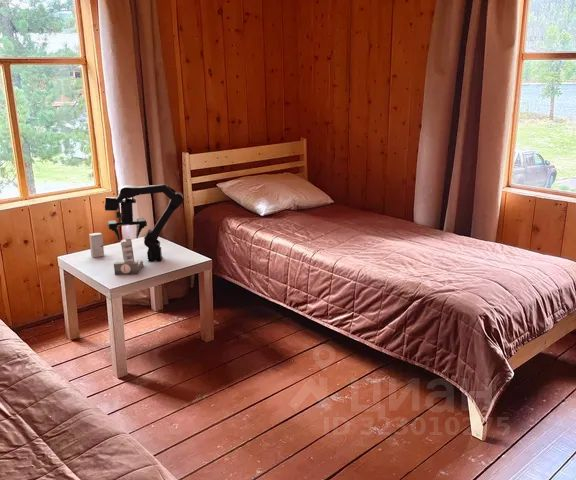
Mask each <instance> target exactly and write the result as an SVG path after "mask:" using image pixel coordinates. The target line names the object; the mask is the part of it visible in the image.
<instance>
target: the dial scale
mask: <svg viewBox="0 0 576 480" xmlns="http://www.w3.org/2000/svg"><path fill="white" fill-rule="evenodd" d="M143 267H144V261H142V259H134V262H124V259H122V260H120V261H116V262H114V263H113V271H114V275H115V276H118V275H119V276H120V275H121V276H122V275H125V276H126V275H138V274H139V273H140V272H141V270H142V269H143Z"/></svg>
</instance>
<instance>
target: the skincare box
mask: <svg viewBox="0 0 576 480" xmlns="http://www.w3.org/2000/svg"><path fill="white" fill-rule="evenodd" d="M88 236H89V245H90V248H89V249H90V256H91V257H92V258H98V257H103V256H105V250H104V249H105V248H104V239H103V234H102V233H101V232H94V233H88Z"/></svg>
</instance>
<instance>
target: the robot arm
mask: <svg viewBox="0 0 576 480" xmlns="http://www.w3.org/2000/svg"><path fill="white" fill-rule="evenodd" d="M157 193H158V194H159V193H163V194H164V195H165V196H166V197H167V198H168V199H169V202H168V205H167V207H166V208H165V210H164V211H163V213H162V214H161V216H160V217H159V219H158V220H157V222H156V224H155V225H154V227H152V229H150V228H148V229H147V232H146V233H145V234H144V237H143V239H144V240H143V243H144V244H143V245H144V246H145V247H146V248H147V252H146V253H147V254H146V257H147V259H148V260H147V262H161V261H162V259H163V253H162V247H161V241H160V240H159V239H158V238H159V236H160V233H161V232H162V230H163V228H164V227H165V225H166V224H167V223H168V220H170V218H171V216H172V215H173V213H175V211H176V210H177V209H178V208H179V207H180V206H181V205H182V204H183V202H184V195H183V193H182V192H181V191H176V190H175V189H173V188H172V187H171V186H169V185H168V184H167V183H159V184H152V185H150V184H149V185H140V186H138V185H133V184H132V185H131V184H130V185H129V184H126V185H123V186H122V187H121V188H120V190H119V194H118V195H117V196H116V197H113V196H112V197H110V196H106V197H105V201H104V211H106V212H107V211H109V212H110V211H111V212H115V211H116V212H115V217H116V219H119V221H118V222H117V221H116V220H115V219H114V220H113V219H112V220H108V221H107V228H108V229H109V230H111V232H112V231H113V232H114V234H115V236H116V239H117V241H120V234H119V229H118V227H124V226H126V227H127V226H136V232H135V238H136V239H138V238H139V236H140V234H141V231H142V230H143V229H145V227H147V226H148V223H147V222H148V221H147V220H146V219H145V217H140V218H139V217H138V218H137V219H136V220H134V211H133V204H136V203H137V199H135V197H137V196H141V195H149V194H157ZM119 209H120V211H118V210H119Z"/></svg>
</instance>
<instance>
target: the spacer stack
mask: <svg viewBox="0 0 576 480" xmlns="http://www.w3.org/2000/svg"><path fill="white" fill-rule="evenodd" d="M120 245H121V251H122V257H123V258H122V260H124V262H134V260H135V256H134V249H133V243H132V239H131V238H122V239H120Z"/></svg>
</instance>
